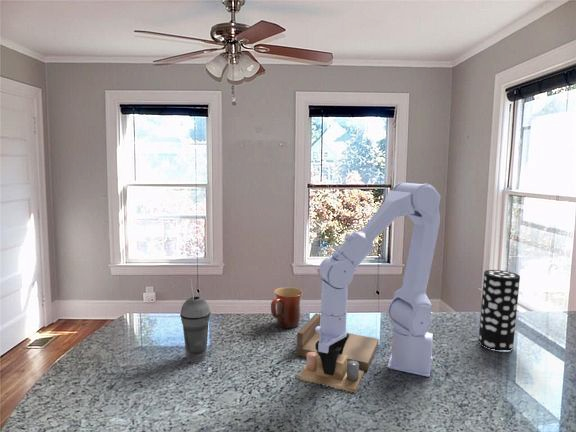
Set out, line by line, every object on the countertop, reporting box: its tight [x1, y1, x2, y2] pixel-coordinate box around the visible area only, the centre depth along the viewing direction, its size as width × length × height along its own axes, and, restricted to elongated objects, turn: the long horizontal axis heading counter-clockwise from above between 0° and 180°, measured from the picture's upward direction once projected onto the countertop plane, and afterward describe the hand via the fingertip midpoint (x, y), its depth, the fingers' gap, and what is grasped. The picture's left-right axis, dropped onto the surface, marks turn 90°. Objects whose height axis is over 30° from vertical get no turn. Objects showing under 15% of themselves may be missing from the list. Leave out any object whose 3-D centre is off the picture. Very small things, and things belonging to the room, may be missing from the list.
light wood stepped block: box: [296, 313, 380, 372], centre depth 99 cm, size 18×14×6 cm
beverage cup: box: [179, 278, 212, 364], centre depth 93 cm, size 7×7×20 cm
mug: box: [270, 286, 304, 329], centre depth 114 cm, size 12×9×10 cm
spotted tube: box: [477, 269, 521, 350], centre depth 103 cm, size 8×8×20 cm
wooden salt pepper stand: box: [298, 352, 365, 394], centre depth 87 cm, size 13×8×5 cm, turn 67°
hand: (331, 368), depth 87 cm, fingers closed on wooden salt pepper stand, 4 cm apart
